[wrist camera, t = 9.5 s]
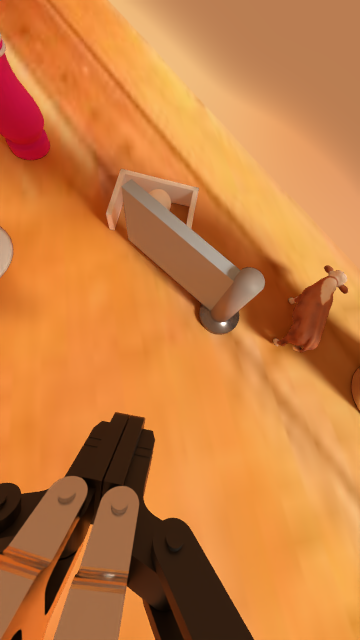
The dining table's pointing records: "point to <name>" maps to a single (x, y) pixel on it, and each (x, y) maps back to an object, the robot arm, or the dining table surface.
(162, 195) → the ball
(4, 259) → the chalice
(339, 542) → the dining table surface
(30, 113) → the pepper mill
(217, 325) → the lever base
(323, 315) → the bull figurine
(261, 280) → the paddle
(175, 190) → the pocket
